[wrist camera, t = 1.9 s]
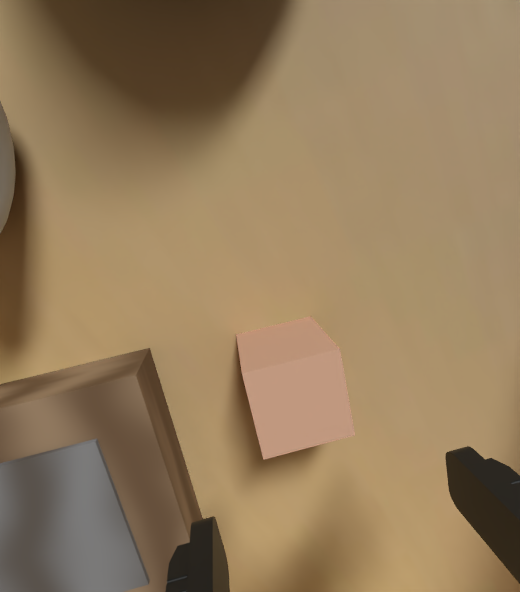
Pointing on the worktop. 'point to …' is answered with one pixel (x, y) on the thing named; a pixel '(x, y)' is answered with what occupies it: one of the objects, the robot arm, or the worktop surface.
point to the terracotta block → (294, 386)
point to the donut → (6, 169)
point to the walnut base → (91, 480)
